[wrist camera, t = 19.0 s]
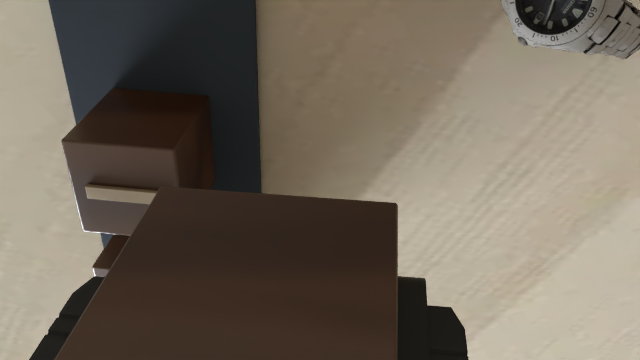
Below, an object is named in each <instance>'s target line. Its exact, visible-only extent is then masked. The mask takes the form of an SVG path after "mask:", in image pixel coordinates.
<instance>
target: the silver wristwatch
mask: <svg viewBox="0 0 640 360" xmlns="http://www.w3.org/2000/svg"><path fill="white" fill-rule="evenodd" d="M501 2H502V5H503V8H504V10H505V13H506V14H507V16H508V18H509V21H510V23H511V25H512V29H513V33H514V34H515V35H516V36H517V37H518V42H519V43H520V44H521V45H523V46H526V45H529V46H531V47H546V48H552V49H557V50H563V51H571V52H579V53H581V52H584V53H585V54H597V53H600V54H603V55H613V56H616V57H619V58H621V59H627V58H628V57H629V56H630V55H631V54H633V53H635V52H636V51H638V50H639V49H640V10H638V9H637V8H635V7H634V6H633V5H632V3H630V2H628V1H627V0H501Z"/></svg>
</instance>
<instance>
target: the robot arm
mask: <svg viewBox="0 0 640 360" xmlns="http://www.w3.org/2000/svg"><path fill="white" fill-rule="evenodd" d="M104 278H105V277H97V276H94V277H93V278H91V279H90V280H89V281H88V282H86V283H85V284H84V285H83V286H81V287H80V288H79V289H77V290H76V291H75V292H74V293H73V294H72V295H71V297H70V298H69V300H68V301H67V303H66V304H65V306H64V307H63V309H62V310H61V312H60V313H59V318H56V320H55V321H54V323H53V324H52V326H51V327H50V329H49V330H48V335H45V336H44V338H43V339H42V341H41V342H40V344H39V345H38V347H37V348H36V350H35V352H34V353H33V355H32V356H31V358H30V359H29V360H55V358H56V356H57V355H58V353H59V351H60V350H61V348H62V347H63V345H64V343H65V342H66V340H67V338H68V337H69V335H70V333H71V332H72V330H73V329H74V327H75V325H76V324H77V322H78V320H79V319H80V317H81V316H82V314H83V312H84V311H85V309H86V307H87V306H88V304H89V302H90V301H91V299H92V298H93V296H94V294H95V293H96V291H97V289H98V288H99V286H100V285H101V283H102V281H103V280H104ZM397 360H468V357H467V344H466V336H465V329H464V327H463V325H462V324H461V322H460V321H459V319H458V318H457V316H456V314H455V313H454V311H453V310H452V308H451V307H439V306H428V305H427V295H426V281H425V278H414V277H402V276H398V349H397Z"/></svg>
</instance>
